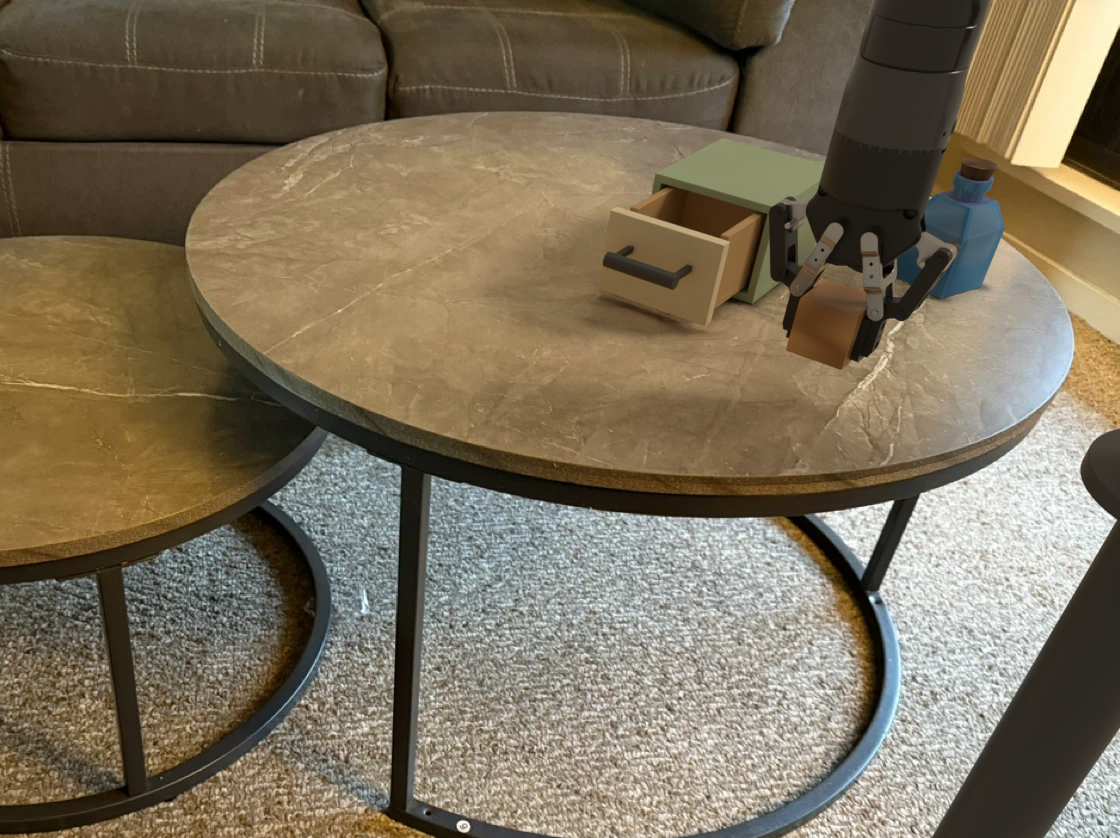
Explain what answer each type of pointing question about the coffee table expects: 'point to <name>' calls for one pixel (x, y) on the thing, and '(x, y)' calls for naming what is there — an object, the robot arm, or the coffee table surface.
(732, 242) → the drawer
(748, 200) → the cabinet
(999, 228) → the perfume bottle
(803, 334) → the block
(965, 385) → the coffee table surface
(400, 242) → the coffee table surface
